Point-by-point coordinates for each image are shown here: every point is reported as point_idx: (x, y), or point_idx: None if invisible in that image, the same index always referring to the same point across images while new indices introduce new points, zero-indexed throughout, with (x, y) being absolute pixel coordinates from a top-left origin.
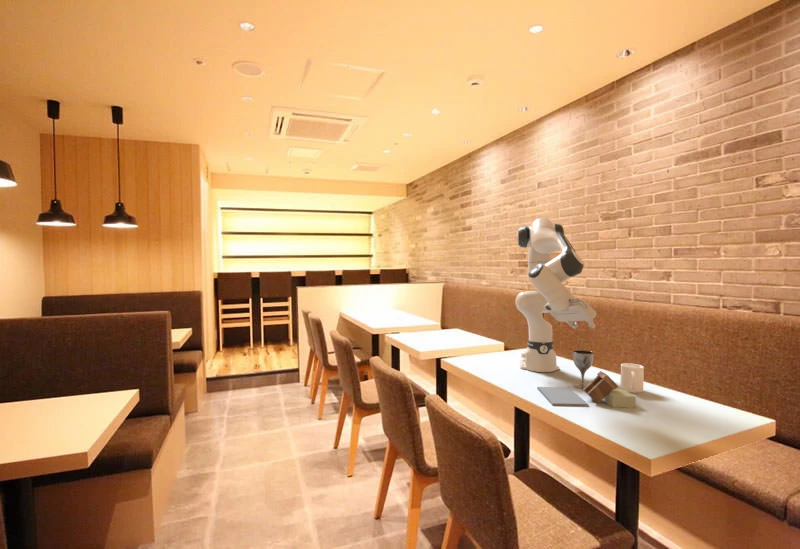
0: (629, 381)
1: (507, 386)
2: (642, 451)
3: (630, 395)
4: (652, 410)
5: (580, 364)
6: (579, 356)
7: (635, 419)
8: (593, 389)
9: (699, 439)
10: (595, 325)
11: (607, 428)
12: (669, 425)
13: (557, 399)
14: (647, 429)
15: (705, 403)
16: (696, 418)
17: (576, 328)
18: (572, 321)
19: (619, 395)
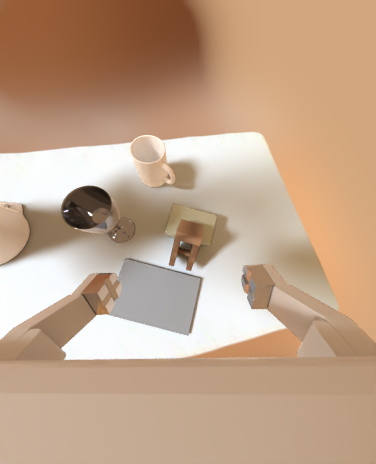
0: (160, 176)
1: None
2: None
3: (211, 218)
4: (224, 208)
5: (111, 229)
6: (102, 227)
7: (248, 249)
8: (193, 263)
9: (298, 226)
10: (270, 266)
11: None
12: (266, 226)
13: (173, 315)
14: (275, 258)
15: (212, 140)
16: (250, 184)
17: (121, 289)
18: (62, 313)
19: (209, 233)
